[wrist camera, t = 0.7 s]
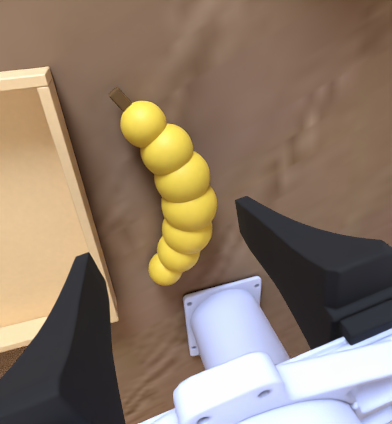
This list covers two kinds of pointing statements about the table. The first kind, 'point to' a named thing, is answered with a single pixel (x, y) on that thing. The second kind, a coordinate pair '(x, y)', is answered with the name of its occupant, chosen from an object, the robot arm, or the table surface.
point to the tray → (38, 207)
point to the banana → (171, 186)
